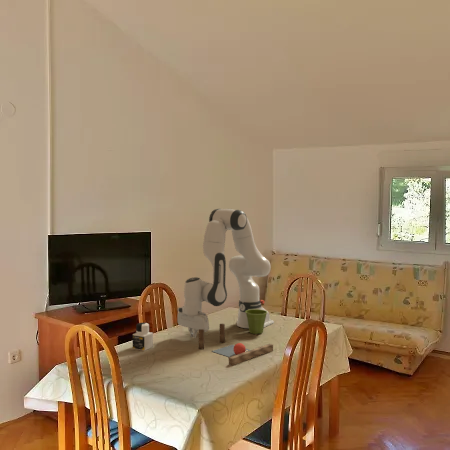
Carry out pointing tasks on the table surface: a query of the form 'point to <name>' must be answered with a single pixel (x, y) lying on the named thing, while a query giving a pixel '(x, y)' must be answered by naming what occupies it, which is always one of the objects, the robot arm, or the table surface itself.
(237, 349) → the ball
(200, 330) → the post
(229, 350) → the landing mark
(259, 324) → the plant pot
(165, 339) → the table surface
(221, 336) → the post
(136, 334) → the medicine bottle
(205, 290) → the robot arm
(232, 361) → the stopper wall
